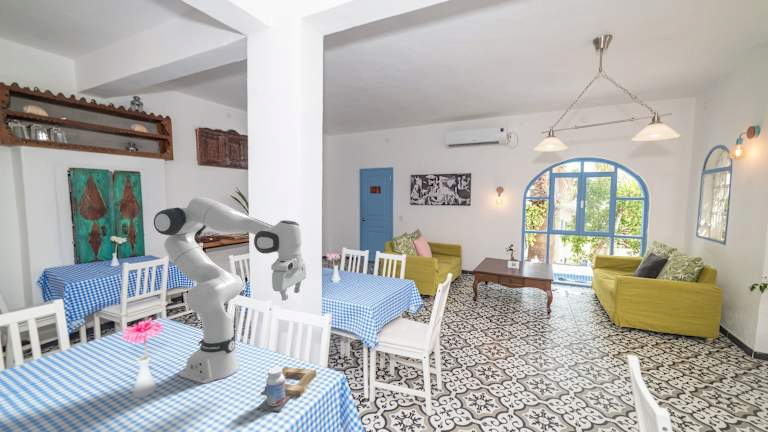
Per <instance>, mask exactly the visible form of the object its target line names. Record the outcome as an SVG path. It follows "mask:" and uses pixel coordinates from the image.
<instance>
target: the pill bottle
mask: <svg viewBox="0 0 768 432" xmlns="http://www.w3.org/2000/svg"><path fill="white" fill-rule="evenodd" d="M282 369H283V368H282V367H281V366H273V367H271V368H269V369H268V370H267V375H268V376H267V377H266V381H265V382H266V385H265V386H266V391H267V392H266V398H267V404H268V405H269V406H278V405H280V404H282V403H283V402H284V401H285V384H286V382H285V381H286V379H285V377H284V375H283V374H282Z"/></svg>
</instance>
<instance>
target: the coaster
mask: <svg viewBox="0 0 768 432" xmlns="http://www.w3.org/2000/svg"><path fill="white" fill-rule="evenodd" d="M291 398H292V395H285V401H284V402H283V403H282V404H280V405H278V406H269V405H268V404H267V397H266V398H265V399H264V400H263V401H262V403H260V404H259V406H258V407H257V410H258V409H263V410H262V411H266V410H271V411H270V412H273V411H276V412H275V413H281V411H282V410H283V408H284V407H285V406H286V405H287V403H288V402H289V401H290V400H291ZM281 409H282V410H281Z"/></svg>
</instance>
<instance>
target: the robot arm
mask: <svg viewBox="0 0 768 432" xmlns="http://www.w3.org/2000/svg"><path fill="white" fill-rule="evenodd" d="M153 226H154V228H155V230H156V231H157V233H159V234H160V235H164V236H168V237H167V238H166V239H165V241H164V244H163V245H164V248H165V251H166V253H167V255H168V257H169V258H170V260H171V261H172V263H173V264H174V265H175V266H176V268H177V269H178V270H179V271H180V272H181V274H182V275H183V276H184V278H186V280H189V281H192V282H197V283H198V284H197V285H195V286H194V287H192V288H191V289H189V290H188V292H187V294H186V296H185V301H186V305H187V307H188V309H190V310H191V311H192V312H195V313H197V314H198V316H199V318H200V320H201V325H202V333H203V334H202V335H203V336H202V337H203V338H202V339H201V340H200V341H198V342H197V343H198V344H197V345H198V346H200V348H198V349H197V350H196V351H194V352H193V353H192V354H191V355H190V356H189V357H188V358H187V361H186V366H185V367H184V368H183V369H182V370H181V371H180V372H179V377H180V378H184V379H186V380H190V381H194V382H197V383H200V384H208V383H210V382H212V381H217V380H220V379H224V378H227V377H229V376H231V375H233V374H235V373H236V372H237V371H238V370H239V369H240V363H239V360H238V357H237V354H236V353H237V352H236V348H235V347H236V335H235V333H234V332H235V331H234V318H233V315H232V314H231V313H229V312H226V308H225V303H227V302H229V301H230V300H234V299H235V298H236V297H237V296H238V295H240V294H241V293H242V291H243V289H244V282H243V278H241V276H240V275H238V274H234V273H231V272H228V271H227V270H225V269H224V268H222V267H220V266H219V265H217V264H216V262H213V260H211V258H210V257H209V256H208V254H207V253H206V252H205V251H204V249H202V248H201V246H200V245H199V244H198V243H197V242H196V239H195V238H197V237H199V236H201V234H202V233H203V231H204V230H205V229H206V228H209V229H210V230H214V231H217V232H222V233H237V232H243V233H249V234H252V235H254V238H253V245H254V247H255V250H257V252H258V253H261V254H266V255H267V254H272V253H277V254H278V258H276V260H275V261H274V262H273V263H272V264H271V267H270V269H271V270H272V273H271V274H272V275H271V285H272V287H271V288H272V289H273V292H279V293H280V296H281V301H287V300H288V299H289V294H287V289H289V288H291V287H293V286H294V289H293V292H294V294H299V293H300V292H301V286H302V281H303V280H305V279H306V278H307V269H306V264H305V262H304V259H303V258H302V257H303V256H302V255H303V253H302V249H301V246H302V232H301V230H302V229H301V227H300V224H299V223H298V222H296V221H294V220H293V221H292V220H286V219H285V220H280V221H278V222H277V223H276V224H275V225H272V224H269V223H268V222H264V221H261V219H257V218H255V217H252V216H249V215H247V214H245V213H243V212H240V211H238V210H236V209H234V208H232V207H231V206H228V205H226V204H224V203H222V202H221V201H217V200H215V199H212V198H209V197H204V196H196V197H194V198H192V199H191V200H190V201H189V202H188V204H187V206H186V207H171V208H166V209H162V210H160V211H158V212H157V213H156V214H155V216H154V218H153Z"/></svg>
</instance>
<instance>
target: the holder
mask: <svg viewBox="0 0 768 432" xmlns="http://www.w3.org/2000/svg"><path fill="white" fill-rule="evenodd" d="M282 374H283V375H284V377H285V380H286V379H287V377H289V378H297V379H298V378H299V379H300V380H299V382H298V383H297V384H296V385H295V384H288V383H285V395H289V396H291V397H292V396H294V397H301V396H302V394H304V393H305V391H306V389H307V388H308V387H309V385H310V384H311V383H312V382H313V380H314V379H315V377H316V376H317V370H316V369H308V368H297V367H288V366H284V367H283V368H282ZM264 393H267V391H266V385H265V386H264Z"/></svg>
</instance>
